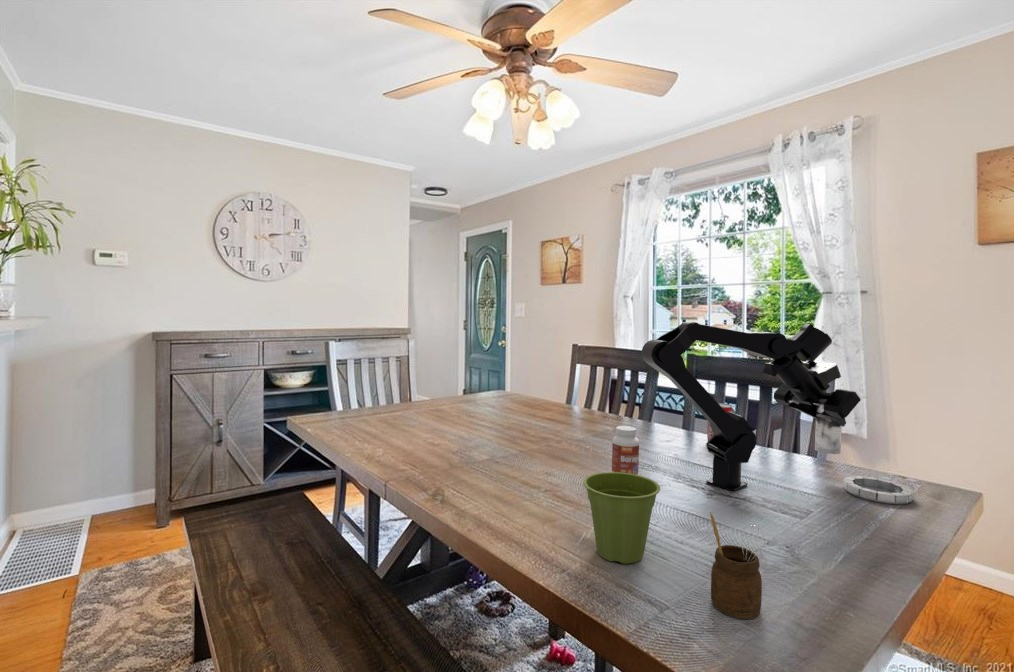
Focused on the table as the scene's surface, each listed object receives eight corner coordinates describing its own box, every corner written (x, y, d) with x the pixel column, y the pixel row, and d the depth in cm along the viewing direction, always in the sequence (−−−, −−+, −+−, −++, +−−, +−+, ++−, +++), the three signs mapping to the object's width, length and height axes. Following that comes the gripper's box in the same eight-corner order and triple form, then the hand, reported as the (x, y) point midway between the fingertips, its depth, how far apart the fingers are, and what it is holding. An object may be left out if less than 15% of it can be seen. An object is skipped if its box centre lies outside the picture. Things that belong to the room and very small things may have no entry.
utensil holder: (768, 623, 59) (771, 528, 58) (714, 617, 60) (717, 523, 59) (752, 596, 64) (755, 508, 64) (703, 590, 66) (705, 505, 65)
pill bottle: (620, 479, 110) (621, 431, 109) (606, 471, 116) (607, 425, 115) (643, 477, 112) (644, 430, 111) (629, 468, 117) (630, 424, 117)
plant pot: (671, 552, 76) (672, 482, 76) (636, 582, 67) (638, 504, 67) (605, 529, 84) (607, 466, 84) (567, 553, 75) (568, 483, 75)
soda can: (730, 450, 135) (731, 408, 134) (704, 446, 139) (705, 405, 138) (735, 445, 140) (737, 404, 140) (710, 441, 145) (711, 401, 144)
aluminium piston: (835, 455, 107) (838, 402, 106) (811, 450, 111) (813, 398, 110) (844, 451, 110) (846, 400, 109) (819, 446, 114) (821, 396, 113)
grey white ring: (902, 509, 94) (903, 499, 94) (835, 491, 103) (836, 483, 103) (918, 496, 101) (919, 487, 101) (854, 480, 110) (854, 472, 110)
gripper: (855, 353, 99) (895, 404, 102) (785, 347, 118) (821, 391, 120) (822, 392, 98) (863, 442, 101) (756, 379, 116) (793, 423, 119)
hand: (833, 422), depth 110 cm, fingers closed on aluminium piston, 5 cm apart
